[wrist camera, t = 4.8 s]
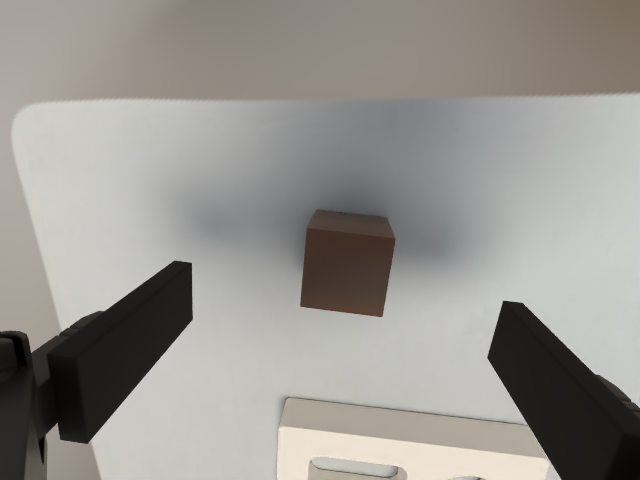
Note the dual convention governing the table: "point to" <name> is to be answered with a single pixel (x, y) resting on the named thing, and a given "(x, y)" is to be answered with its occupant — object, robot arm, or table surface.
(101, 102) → the table surface
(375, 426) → the holder
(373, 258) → the block
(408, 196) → the table surface
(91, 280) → the table surface
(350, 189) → the table surface
